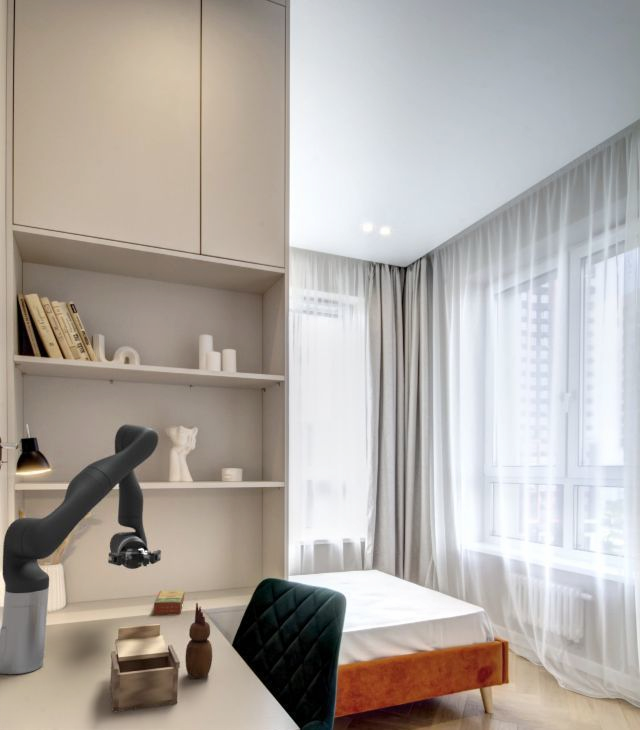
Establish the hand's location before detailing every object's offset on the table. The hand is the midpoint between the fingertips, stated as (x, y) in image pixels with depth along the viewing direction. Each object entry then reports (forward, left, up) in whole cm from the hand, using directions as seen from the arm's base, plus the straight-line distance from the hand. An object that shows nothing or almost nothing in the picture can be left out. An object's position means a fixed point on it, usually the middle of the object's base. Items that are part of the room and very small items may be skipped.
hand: (138, 562), depth 147 cm
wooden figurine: (+13, -18, -22) cm, 31 cm away
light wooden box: (0, -25, -22) cm, 33 cm away
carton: (+14, +45, -23) cm, 52 cm away
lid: (0, -18, -15) cm, 24 cm away
